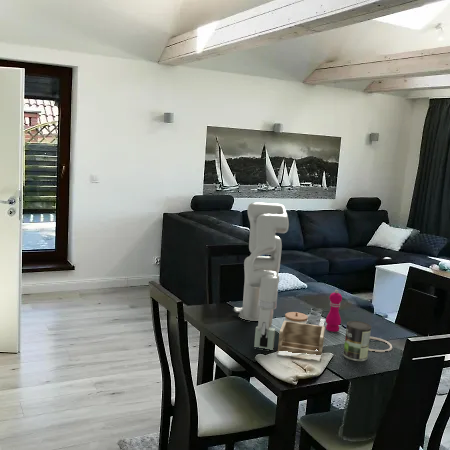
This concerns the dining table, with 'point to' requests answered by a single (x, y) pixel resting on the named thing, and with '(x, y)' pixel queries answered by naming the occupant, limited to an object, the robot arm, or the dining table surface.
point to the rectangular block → (270, 337)
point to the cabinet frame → (301, 338)
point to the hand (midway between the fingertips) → (264, 344)
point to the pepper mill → (334, 312)
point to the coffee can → (357, 340)
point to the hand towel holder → (382, 341)
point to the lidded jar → (296, 317)
